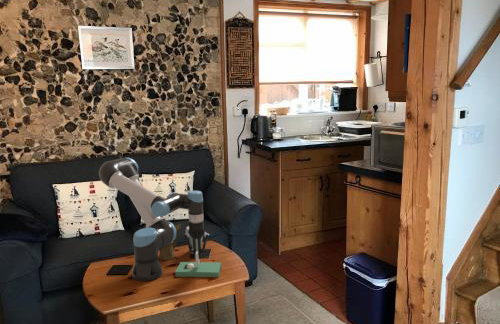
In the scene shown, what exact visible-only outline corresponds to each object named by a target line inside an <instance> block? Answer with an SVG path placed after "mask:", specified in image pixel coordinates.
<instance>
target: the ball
mask: <svg viewBox="0 0 500 324" xmlns="http://www.w3.org/2000/svg"><path fill="white" fill-rule="evenodd" d="M187 269H194V265H193V264H192V263H190V264H188V265H187Z"/></svg>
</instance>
